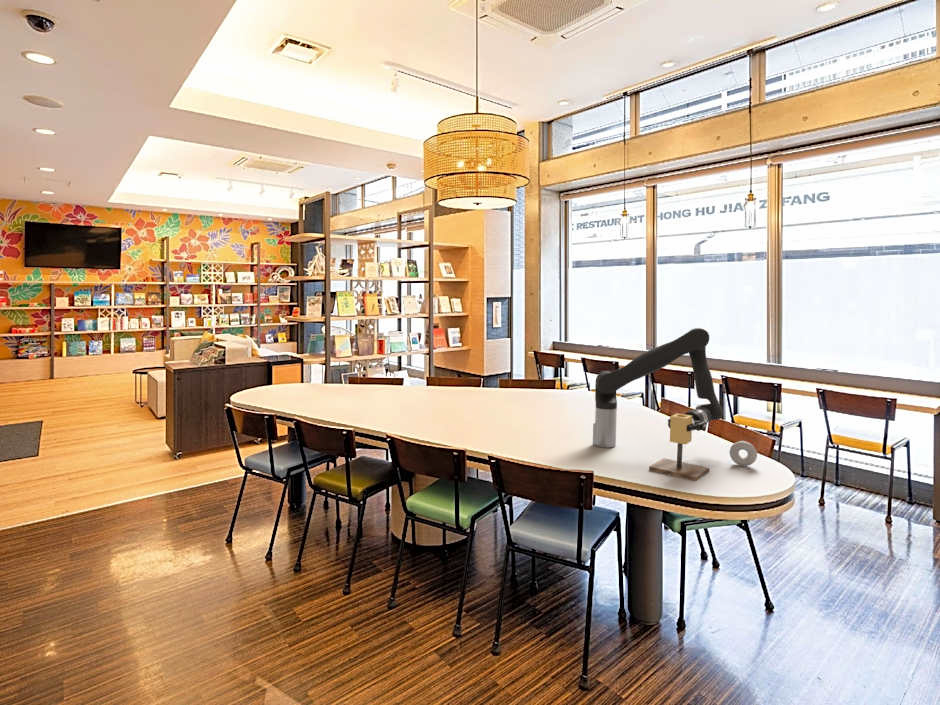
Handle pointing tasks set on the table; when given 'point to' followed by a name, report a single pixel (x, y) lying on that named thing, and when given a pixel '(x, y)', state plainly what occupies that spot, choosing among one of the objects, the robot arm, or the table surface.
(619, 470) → the table surface
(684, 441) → the bead
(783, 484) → the table surface
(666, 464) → the spindle stand
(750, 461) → the donut
